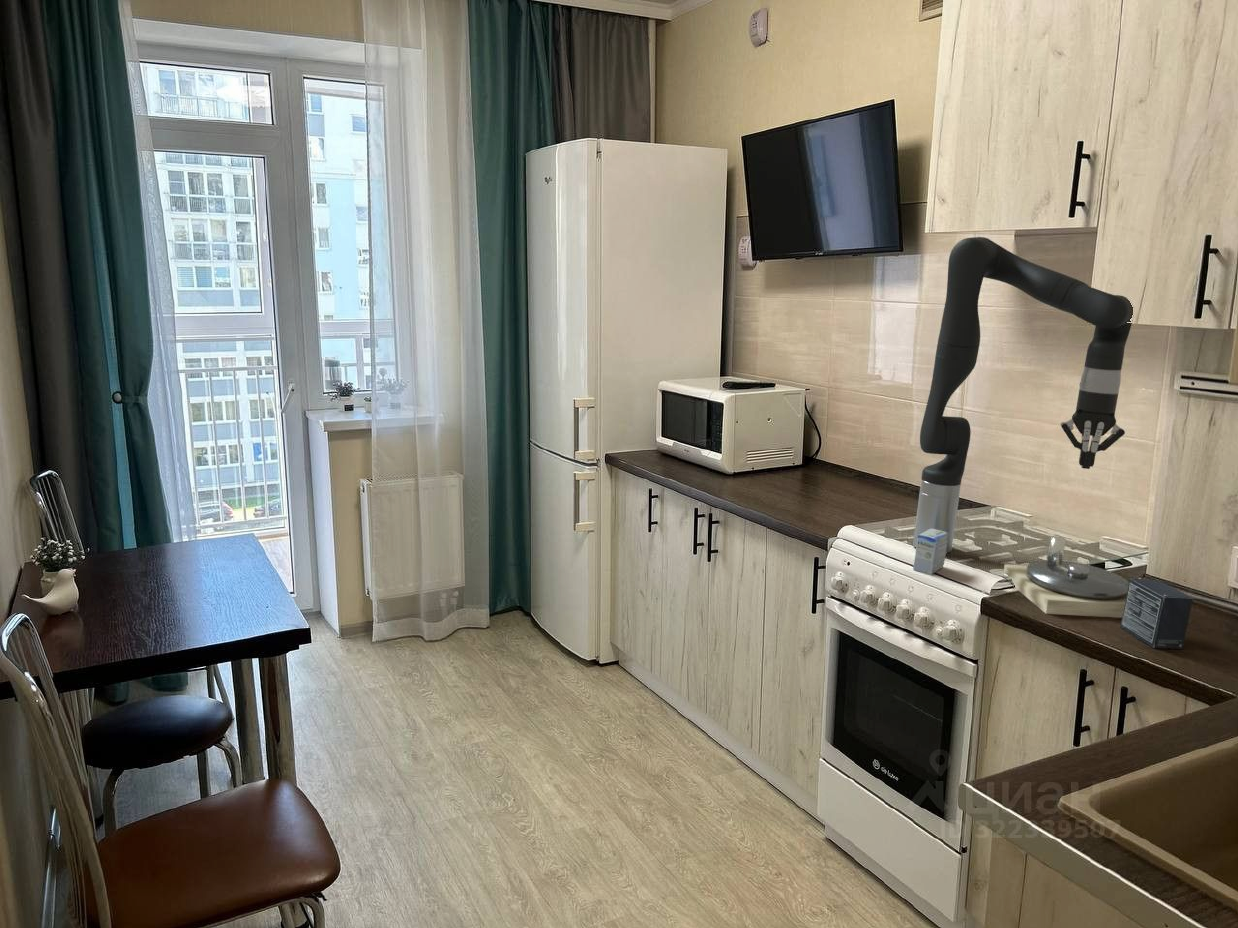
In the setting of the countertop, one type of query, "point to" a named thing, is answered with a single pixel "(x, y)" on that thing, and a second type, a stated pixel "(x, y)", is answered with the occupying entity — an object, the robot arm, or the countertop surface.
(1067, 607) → the wheel base
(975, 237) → the robot arm
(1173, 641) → the small box
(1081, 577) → the handwheel
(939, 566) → the medicine box
